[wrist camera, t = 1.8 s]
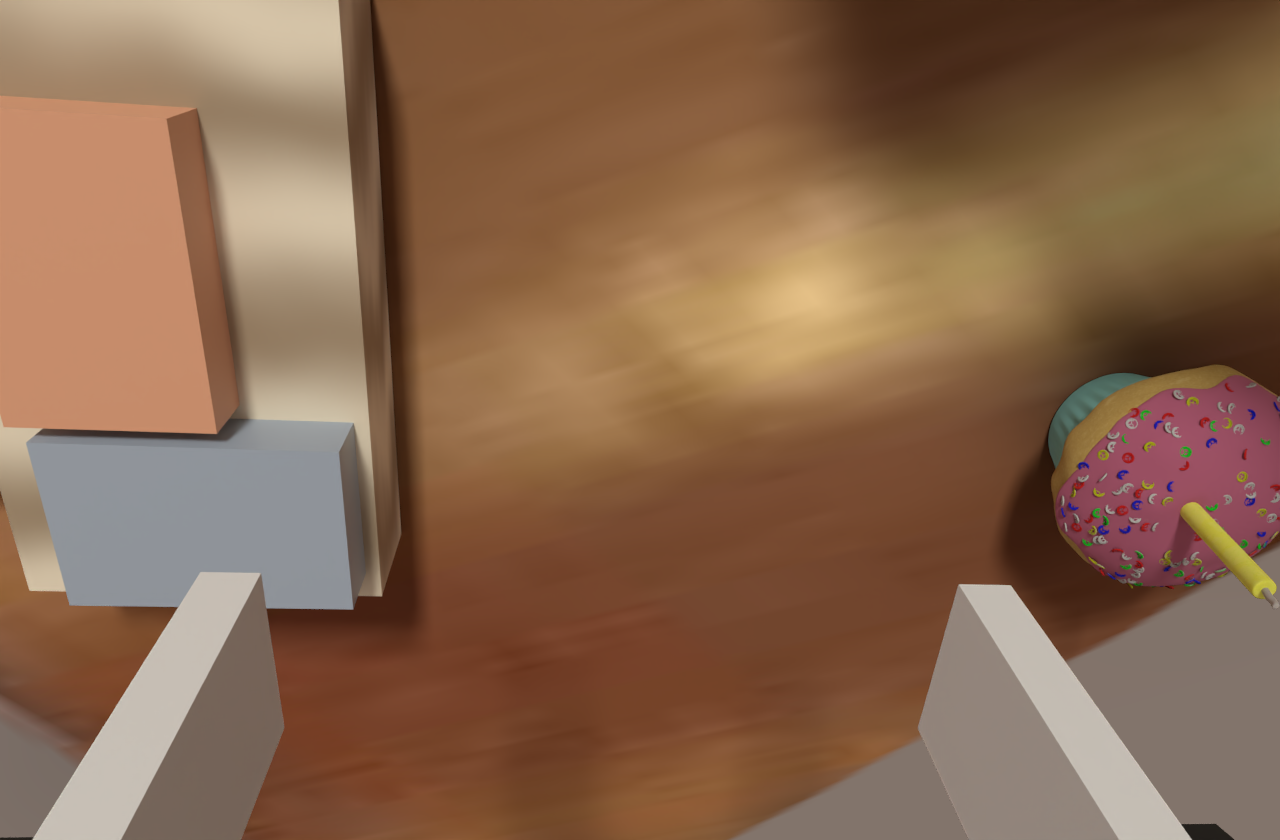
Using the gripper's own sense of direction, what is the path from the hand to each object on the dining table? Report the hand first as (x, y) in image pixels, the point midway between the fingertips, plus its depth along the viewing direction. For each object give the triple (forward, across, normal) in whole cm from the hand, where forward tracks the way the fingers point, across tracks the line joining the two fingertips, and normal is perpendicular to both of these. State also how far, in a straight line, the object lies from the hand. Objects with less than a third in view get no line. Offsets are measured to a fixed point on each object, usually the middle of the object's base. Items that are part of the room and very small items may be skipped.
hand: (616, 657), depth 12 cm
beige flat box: (+21, -13, -2) cm, 24 cm away
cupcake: (+21, +21, -6) cm, 30 cm away
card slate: (+16, -12, -8) cm, 21 cm away
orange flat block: (+16, -14, 0) cm, 21 cm away
